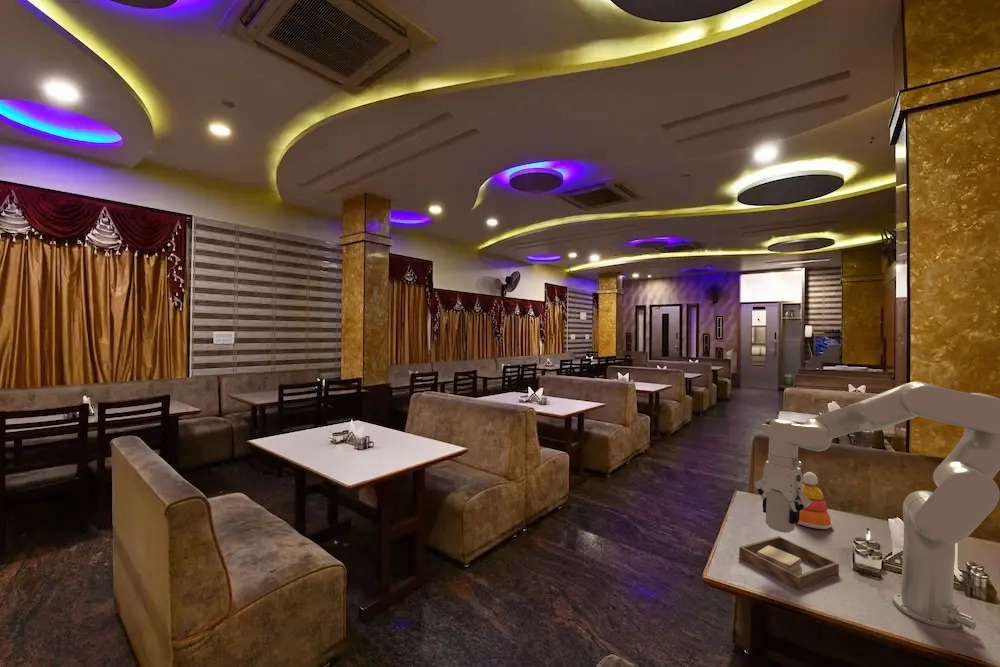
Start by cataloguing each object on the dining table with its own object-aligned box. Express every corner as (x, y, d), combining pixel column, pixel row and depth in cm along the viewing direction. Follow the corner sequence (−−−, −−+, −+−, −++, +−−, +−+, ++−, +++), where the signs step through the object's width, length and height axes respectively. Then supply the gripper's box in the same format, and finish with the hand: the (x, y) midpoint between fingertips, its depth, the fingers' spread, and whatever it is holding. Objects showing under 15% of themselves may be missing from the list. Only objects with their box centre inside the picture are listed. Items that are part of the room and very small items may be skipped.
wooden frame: (838, 574, 128) (839, 563, 128) (798, 590, 119) (798, 577, 119) (778, 546, 144) (778, 535, 144) (739, 557, 136) (739, 546, 136)
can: (781, 535, 125) (782, 495, 125) (759, 523, 132) (761, 485, 132) (800, 532, 127) (802, 493, 127) (778, 521, 134) (779, 484, 134)
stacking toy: (837, 535, 153) (839, 482, 153) (790, 526, 160) (792, 475, 159) (827, 519, 166) (829, 470, 166) (784, 512, 172) (785, 464, 172)
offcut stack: (804, 574, 127) (805, 560, 127) (786, 581, 123) (786, 566, 123) (771, 557, 136) (771, 544, 136) (752, 563, 133) (753, 549, 133)
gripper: (821, 468, 123) (818, 528, 123) (762, 451, 139) (760, 504, 139) (805, 471, 120) (802, 532, 120) (747, 453, 136) (745, 507, 136)
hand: (780, 517), depth 130 cm, fingers closed on can, 7 cm apart
